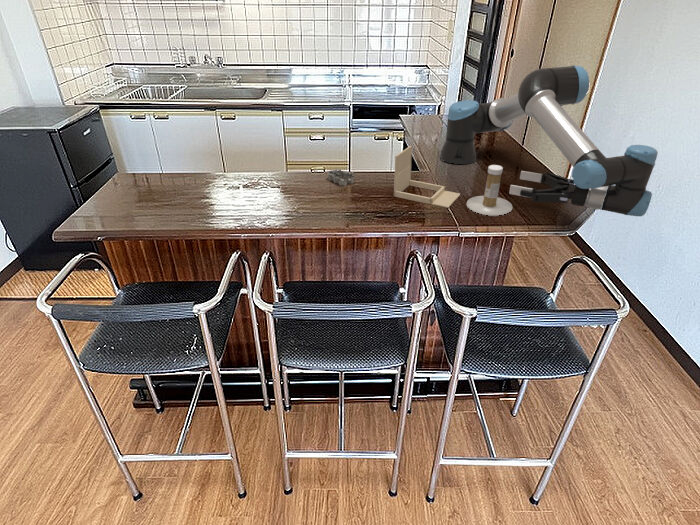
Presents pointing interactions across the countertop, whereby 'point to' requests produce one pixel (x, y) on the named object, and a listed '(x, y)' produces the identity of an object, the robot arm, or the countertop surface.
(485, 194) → the spice jar
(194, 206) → the countertop surface
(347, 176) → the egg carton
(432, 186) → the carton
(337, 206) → the countertop surface
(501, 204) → the stone mat
